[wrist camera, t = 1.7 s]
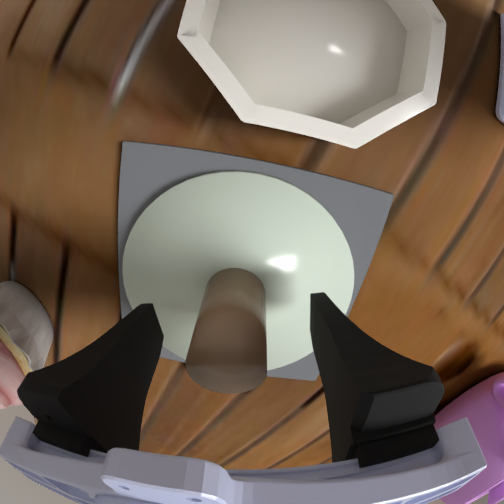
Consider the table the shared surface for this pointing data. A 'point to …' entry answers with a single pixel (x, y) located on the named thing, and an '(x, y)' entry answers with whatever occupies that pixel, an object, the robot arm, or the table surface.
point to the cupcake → (20, 338)
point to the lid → (236, 273)
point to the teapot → (481, 437)
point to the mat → (202, 161)
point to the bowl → (320, 62)
